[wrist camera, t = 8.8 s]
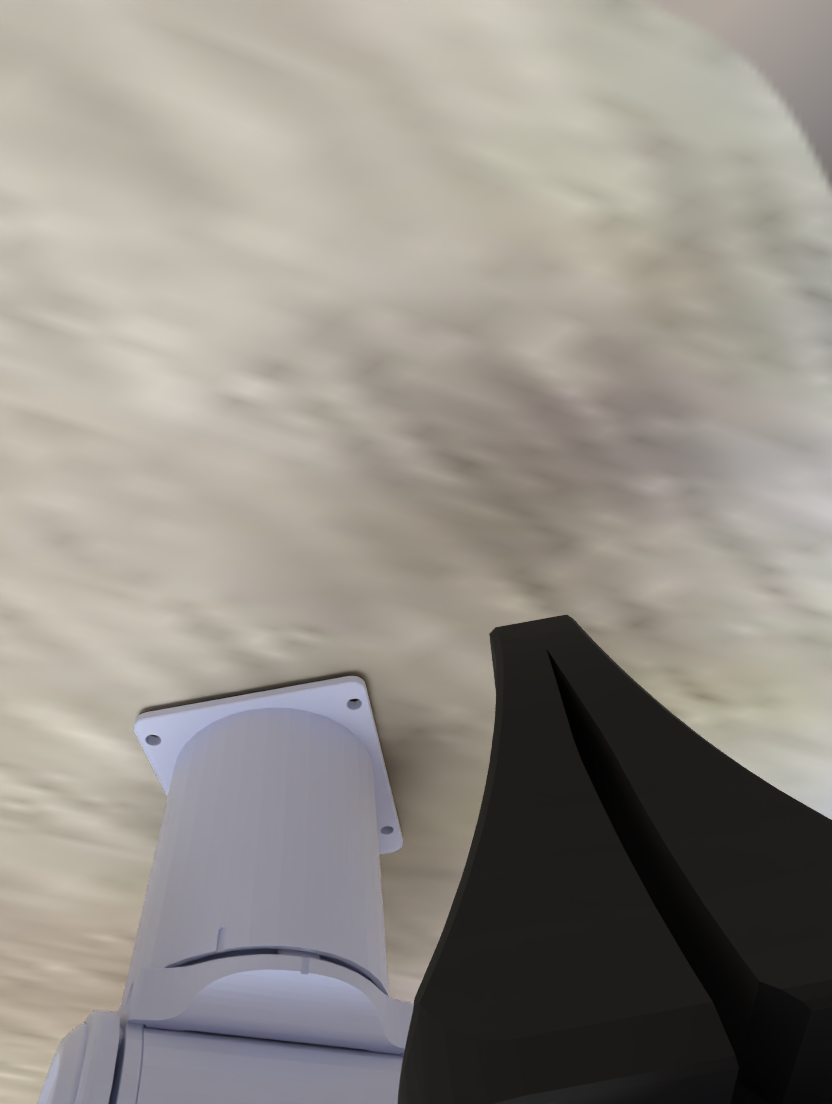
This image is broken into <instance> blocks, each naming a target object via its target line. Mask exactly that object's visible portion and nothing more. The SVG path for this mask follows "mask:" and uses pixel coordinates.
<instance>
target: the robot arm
mask: <svg viewBox="0 0 832 1104" xmlns="http://www.w3.org/2000/svg"><path fill="white" fill-rule="evenodd" d="M490 643H491V652H492V661H493V670H494V679H495V688H496V711H495V725H494V733H493V741H492V748H491V756H490V763H489V769H488V775H487V780H486V786H485V791H484V795H483V800H482V804H481V809H480V813H479V818H478V822H477V825H476V829H475V833H474V837H473V840H472V844H471V848H470V852H469V855H468V858H467V862H466V865H465V868H464V872H463V875H462V878H461V881H460V884H459V886H458V889H457V892H456V895H455V898H454V901H453V904H452V907H451V910H450V912H449V915H448V918H447V921H446V924H445V927H444V929H443V932H442V934H441V937H440V940H439V942H438V944H437V947H436V949H435V952H434V954H433V956H432V959H431V961H430V963H429V966H428V968H427V970H426V973H425V975H424V978H423V980H422V982H421V985H420V987H419V989H418V992H417V994H416V997H415V1000H414V1005H413V1004H412V1003H410V1002H405V1001H400V1000H397V999H394V998H391V997H389V983H388V969H387V955H386V941H385V927H384V913H383V899H382V885H381V871H380V857H379V855H382V854H387V853H393V852H396V851H398V850H399V849H401V847H402V846H403V837H402V832H401V828H400V824H399V820H398V816H397V812H396V808H395V804H394V799H393V795H392V791H391V787H390V783H389V779H388V775H387V771H386V766H385V762H384V758H383V754H382V750H381V746H380V742H379V738H378V733H377V729H376V725H375V721H374V717H373V713H372V709H371V705H370V700H369V696H368V692H367V688H366V684H365V682H364V680H362V679H361V678H360V677H357V676H346V677H340V678H335V679H329V680H323V681H318V682H312V683H307V684H301V685H295V686H290V687H284V688H279V689H273V690H268V691H262V692H256V693H251V694H245V695H240V696H234V697H228V698H223V699H217V700H212V701H206V702H200V703H195V704H189V705H184V706H178V707H172V708H167V709H161V710H156V711H150V712H145V713H142V714H140V715H139V716H138V717H137V718H136V720H135V724H134V727H133V728H134V732H135V734H136V736H137V738H138V740H139V742H140V744H141V746H142V748H143V750H144V752H145V754H146V756H147V758H148V760H149V762H150V764H151V766H152V768H153V770H154V772H155V774H156V776H157V778H158V780H159V782H160V784H161V786H162V788H163V790H164V792H165V794H166V796H167V802H166V806H165V811H164V815H163V819H162V824H161V828H160V833H159V837H158V842H157V846H156V851H155V855H154V860H153V864H152V869H151V873H150V878H149V882H148V886H147V891H146V895H145V900H144V904H143V909H142V913H141V918H140V922H139V927H138V931H137V936H136V940H135V945H134V949H133V953H132V958H131V962H130V967H129V971H128V976H127V980H126V985H125V989H124V994H123V998H122V1003H121V1005H120V1007H119V1010H118V1012H117V1013H116V1012H112V1011H103V1010H96V1011H93V1012H92V1013H91V1014H90V1015H89V1016H88V1017H87V1018H86V1020H85V1022H84V1024H80V1025H79V1026H78V1027H76V1028H75V1029H74V1030H72V1031H71V1032H70V1033H68V1034H67V1035H66V1036H65V1037H64V1038H63V1039H62V1040H61V1042H60V1044H59V1046H58V1048H57V1051H56V1053H55V1055H54V1058H53V1060H52V1063H51V1066H50V1068H49V1071H48V1074H47V1076H46V1079H45V1082H44V1085H43V1088H42V1090H41V1093H40V1096H39V1099H38V1102H37V1104H832V820H831V819H829V818H827V817H825V816H824V815H822V814H820V813H818V812H817V811H815V810H813V809H811V808H810V807H808V806H806V805H804V804H803V803H801V802H799V801H797V800H796V799H794V798H792V797H790V796H789V795H787V794H785V793H784V792H782V791H780V790H778V789H777V788H775V787H774V786H772V785H771V784H769V783H767V782H766V781H764V780H763V779H761V778H760V777H758V776H757V775H755V774H753V773H752V772H750V771H749V770H747V769H746V768H744V767H743V766H742V765H740V764H739V763H737V762H736V761H734V760H733V759H731V758H730V757H728V756H727V755H726V754H724V753H723V752H721V751H720V750H719V749H717V748H716V747H714V746H713V745H712V744H710V743H709V742H708V741H706V740H705V739H704V738H702V737H701V736H700V735H698V734H697V733H696V732H695V731H693V730H692V729H691V728H690V727H688V726H687V725H686V724H685V723H683V722H682V721H681V720H680V719H678V718H677V717H676V716H675V715H673V714H672V713H671V712H670V711H668V710H667V709H666V708H665V707H664V706H663V705H661V704H660V703H659V702H658V701H657V700H656V699H654V698H653V697H652V696H651V695H650V694H649V693H648V692H647V691H645V690H644V689H643V688H642V687H641V686H640V685H639V684H638V683H637V682H635V681H634V680H633V679H632V678H631V677H630V676H629V675H628V674H627V673H626V672H625V671H624V670H622V669H621V668H620V667H619V666H618V665H617V664H616V663H615V662H614V661H613V660H612V659H611V658H610V657H609V656H608V655H607V654H606V653H605V652H604V651H603V650H602V649H601V648H600V647H599V646H598V645H597V644H596V643H595V642H594V641H593V640H592V639H591V638H590V637H589V635H588V634H587V633H586V632H585V631H584V630H583V629H582V628H581V627H580V626H579V625H578V624H577V622H576V621H575V620H574V619H573V618H571V617H570V616H568V615H562V616H557V617H551V618H546V619H540V620H534V621H529V622H523V623H518V624H512V625H507V626H501V627H496V628H495V629H494V630H493V631H492V632H491V633H490ZM351 699H359V700H358V701H356V702H351V701H349V700H351ZM150 735H157V736H159V737H153V736H150Z"/></svg>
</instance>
